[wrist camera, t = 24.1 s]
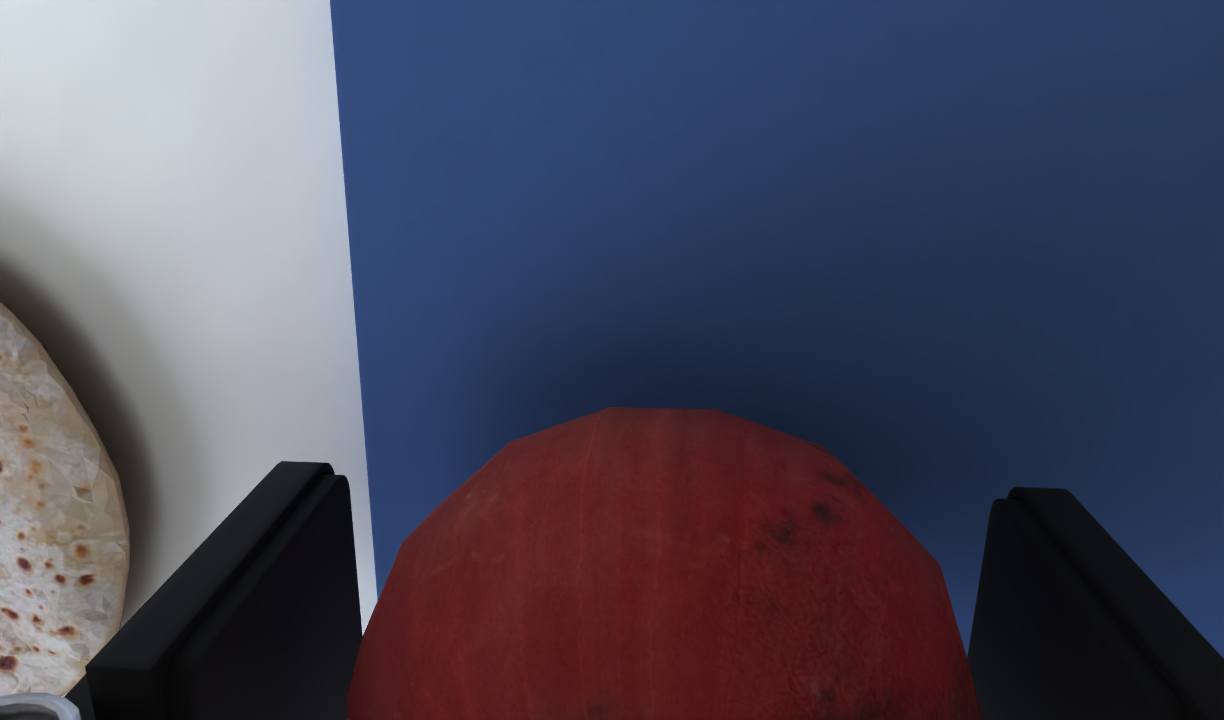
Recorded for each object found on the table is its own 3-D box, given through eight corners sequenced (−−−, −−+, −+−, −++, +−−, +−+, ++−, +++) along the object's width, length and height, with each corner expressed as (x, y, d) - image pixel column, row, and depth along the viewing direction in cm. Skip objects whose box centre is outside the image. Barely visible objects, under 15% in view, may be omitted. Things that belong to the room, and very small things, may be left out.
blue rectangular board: (2499, -636, 8) (2576, -665, 8) (1767, 800, 13) (1794, 819, 13) (292, -586, 9) (278, -608, 9) (394, 732, 14) (387, 748, 14)
